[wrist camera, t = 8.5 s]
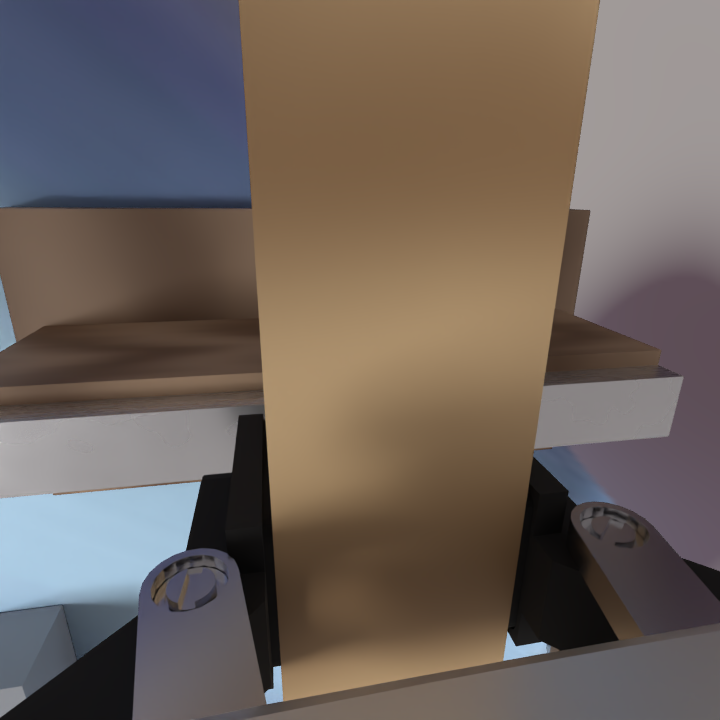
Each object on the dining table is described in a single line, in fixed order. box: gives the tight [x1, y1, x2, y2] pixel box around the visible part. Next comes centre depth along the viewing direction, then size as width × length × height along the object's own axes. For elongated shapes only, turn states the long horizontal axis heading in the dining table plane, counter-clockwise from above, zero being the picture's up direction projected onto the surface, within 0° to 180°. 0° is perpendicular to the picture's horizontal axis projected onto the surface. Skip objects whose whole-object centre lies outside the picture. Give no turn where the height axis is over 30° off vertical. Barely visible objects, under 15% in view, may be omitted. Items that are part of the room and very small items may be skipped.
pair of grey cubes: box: [0, 605, 77, 717], centre depth 23 cm, size 23×5×4 cm, turn 90°
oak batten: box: [239, 0, 600, 701], centre depth 10 cm, size 26×4×4 cm, turn 0°
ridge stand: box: [0, 207, 683, 498], centre depth 17 cm, size 22×11×8 cm, turn 90°
